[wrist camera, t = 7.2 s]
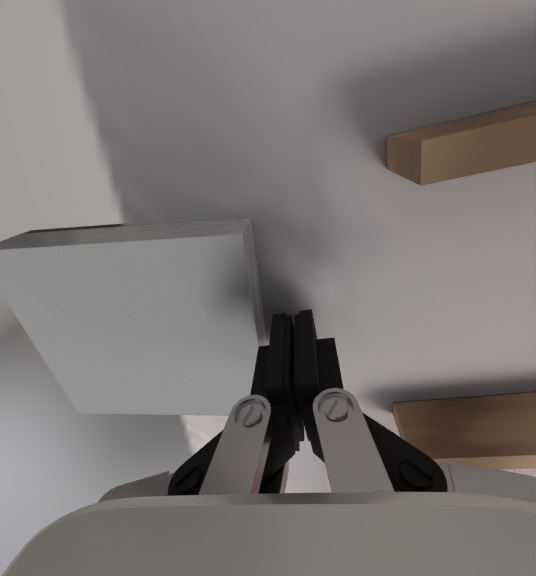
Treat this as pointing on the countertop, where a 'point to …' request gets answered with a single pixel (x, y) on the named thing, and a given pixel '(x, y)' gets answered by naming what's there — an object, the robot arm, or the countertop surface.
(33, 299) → the cover plate
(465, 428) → the wooden u-shaped frame
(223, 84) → the countertop surface
